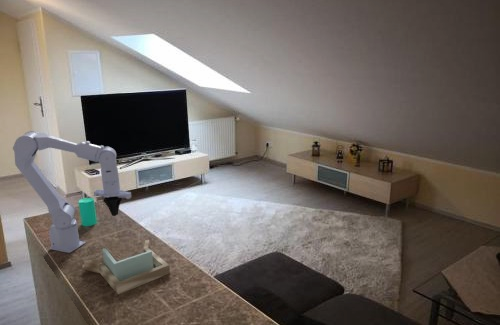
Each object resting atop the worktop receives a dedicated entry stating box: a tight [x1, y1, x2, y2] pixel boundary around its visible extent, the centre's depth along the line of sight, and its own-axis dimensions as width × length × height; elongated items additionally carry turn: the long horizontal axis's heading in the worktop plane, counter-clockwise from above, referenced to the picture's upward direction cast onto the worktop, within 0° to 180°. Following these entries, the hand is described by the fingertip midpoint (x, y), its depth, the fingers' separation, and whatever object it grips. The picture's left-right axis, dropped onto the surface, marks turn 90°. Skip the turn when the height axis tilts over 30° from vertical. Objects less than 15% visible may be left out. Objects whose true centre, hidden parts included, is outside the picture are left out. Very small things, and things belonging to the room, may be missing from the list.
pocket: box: [84, 239, 171, 295], centre depth 123 cm, size 21×23×3 cm
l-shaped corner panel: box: [101, 247, 155, 281], centre depth 122 cm, size 12×12×8 cm
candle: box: [78, 197, 98, 227], centre depth 158 cm, size 6×6×12 cm
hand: (115, 214), depth 141 cm, fingers closed
